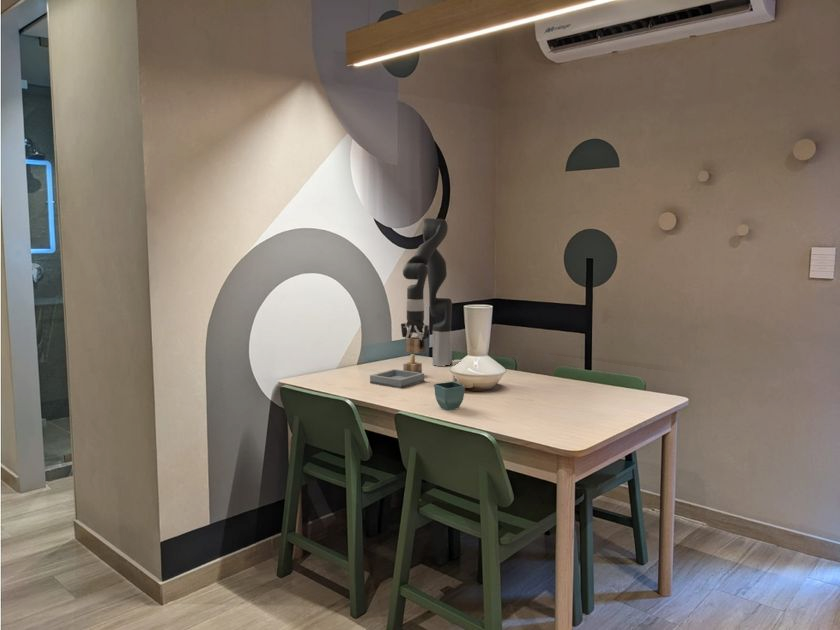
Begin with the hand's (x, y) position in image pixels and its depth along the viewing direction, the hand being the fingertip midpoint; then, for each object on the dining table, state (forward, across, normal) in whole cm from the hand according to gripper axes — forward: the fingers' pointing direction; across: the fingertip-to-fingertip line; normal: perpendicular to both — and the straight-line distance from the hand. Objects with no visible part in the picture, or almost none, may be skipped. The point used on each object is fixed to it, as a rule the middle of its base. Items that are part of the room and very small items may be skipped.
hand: (415, 347), depth 296 cm
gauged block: (+16, +9, -11) cm, 21 cm away
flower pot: (+16, -35, +28) cm, 48 cm away
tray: (+16, +8, +3) cm, 18 cm away
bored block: (+2, 0, 0) cm, 2 cm away
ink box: (+16, -22, -4) cm, 27 cm away
